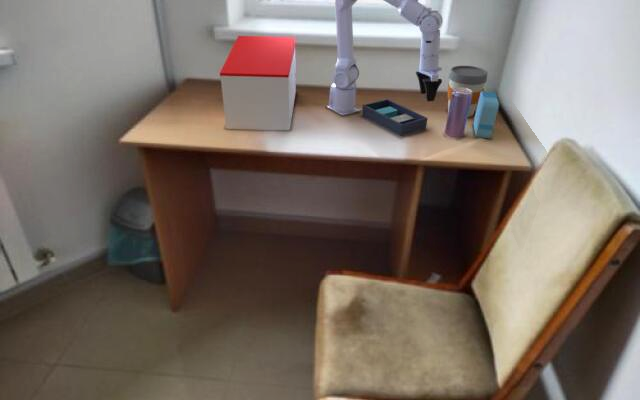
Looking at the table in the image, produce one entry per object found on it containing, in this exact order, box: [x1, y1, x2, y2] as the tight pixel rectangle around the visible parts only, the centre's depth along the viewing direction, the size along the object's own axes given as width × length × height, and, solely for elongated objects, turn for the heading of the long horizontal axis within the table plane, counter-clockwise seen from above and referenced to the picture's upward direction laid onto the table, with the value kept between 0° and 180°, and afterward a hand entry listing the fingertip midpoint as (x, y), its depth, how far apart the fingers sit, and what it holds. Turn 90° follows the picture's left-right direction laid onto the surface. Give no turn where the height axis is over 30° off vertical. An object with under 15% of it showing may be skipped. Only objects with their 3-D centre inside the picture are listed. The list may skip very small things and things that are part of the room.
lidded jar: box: [447, 65, 488, 118], centre depth 154 cm, size 13×13×15 cm
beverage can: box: [444, 87, 472, 139], centre depth 138 cm, size 6×6×15 cm
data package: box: [473, 90, 500, 139], centre depth 141 cm, size 12×4×12 cm, turn 167°
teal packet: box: [375, 106, 398, 118], centre depth 151 cm, size 4×7×3 cm, turn 124°
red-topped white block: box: [219, 35, 297, 131], centre depth 151 cm, size 21×35×21 cm, turn 179°
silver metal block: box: [391, 114, 414, 124], centre depth 145 cm, size 4×7×3 cm, turn 124°
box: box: [361, 98, 429, 137], centre depth 148 cm, size 20×11×4 cm, turn 34°
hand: (427, 97), depth 143 cm, fingers open, 7 cm apart
